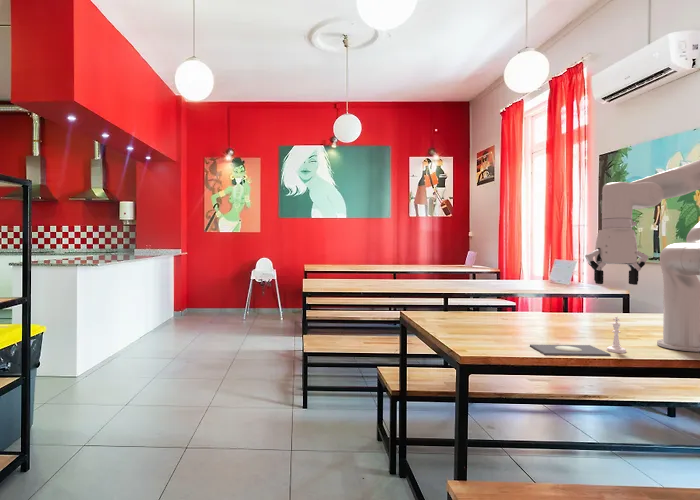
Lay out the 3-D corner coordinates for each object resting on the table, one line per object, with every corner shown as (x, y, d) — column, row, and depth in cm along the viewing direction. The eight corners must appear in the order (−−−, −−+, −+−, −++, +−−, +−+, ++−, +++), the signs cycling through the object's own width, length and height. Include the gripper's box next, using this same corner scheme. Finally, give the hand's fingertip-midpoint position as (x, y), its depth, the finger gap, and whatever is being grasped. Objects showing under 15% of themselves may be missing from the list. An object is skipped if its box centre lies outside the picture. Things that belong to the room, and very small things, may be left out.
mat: (589, 346, 132) (589, 344, 132) (610, 355, 121) (610, 353, 121) (529, 346, 133) (529, 344, 133) (544, 354, 122) (544, 352, 122)
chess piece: (629, 353, 124) (629, 318, 124) (610, 352, 125) (610, 317, 125) (622, 349, 129) (622, 315, 129) (603, 348, 130) (603, 315, 130)
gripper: (639, 226, 130) (638, 283, 130) (580, 225, 131) (579, 282, 131) (655, 224, 123) (655, 285, 123) (593, 224, 123) (592, 284, 123)
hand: (616, 284), depth 127 cm, fingers open, 9 cm apart
